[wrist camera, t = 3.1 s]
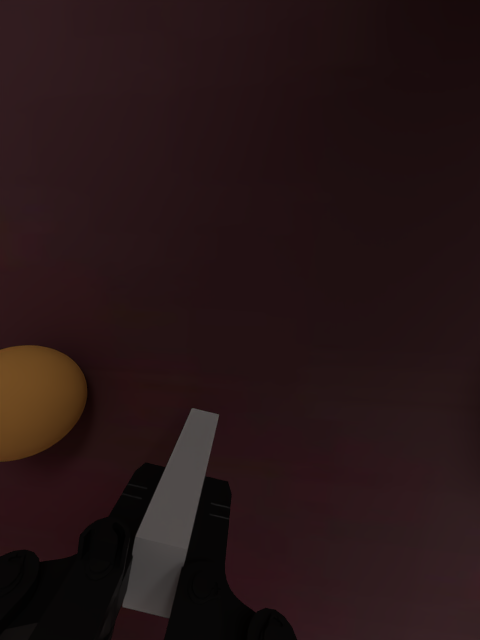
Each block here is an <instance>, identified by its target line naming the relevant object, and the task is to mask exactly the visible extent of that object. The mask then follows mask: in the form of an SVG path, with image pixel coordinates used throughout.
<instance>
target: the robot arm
mask: <svg viewBox="0 0 480 640" xmlns="http://www.w3.org/2000/svg"><path fill="white" fill-rule="evenodd" d="M218 418H219V414H215V413H211V412H206V411H202V410H198V409H194V408H192V409H191V411H190V414H189V416H188V418H187V421H186V423H185V425H184V427H183V430H182V432H181V434H180V436H179V439H178V441H177V443H176V445H175V448H174V450H173V452H172V455H171V457H170V459H169V461H168V464H167V466H166V467H162V466H158V465H154V464H150V463H145V464H143V465H142V466H141V467H140V468H138V469H137V470H136V471H135V472H134V474H133V476H132V478H131V479H130V481H129V483H128V485H127V486H126V488H125V489H124V491H123V493H122V495H121V496H120V498H119V500H118V501H117V503H116V505H115V507H114V508H113V510H112V512H111V513H110V515H109V517H106V518H103V519H100V520H97V521H95V522H94V523H92V524H91V525H89V526H88V527H87V528H86V529H85V530H84V531H83V533H82V534H81V535H80V538H79V546H78V553H77V554H75V555H73V556H71V557H67V558H63V559H57V560H50V561H43V562H39V558H38V557H37V556H36V554H35V553H34V552H31V551H28V550H18V551H12V552H10V553H8V554H5V555H3V556H1V557H0V640H111V637H112V633H113V629H114V625H115V620H116V618H117V615H118V612H119V610H120V607H121V605H122V602H123V606H122V607H125V608H129V609H133V610H137V611H141V612H145V613H149V614H153V615H157V616H161V617H165V618H169V622H168V626H167V630H166V634H165V638H164V640H297V639H296V636H295V634H294V631H293V628H292V627H291V625H290V624H289V622H288V621H287V620H286V618H285V617H284V616H283V615H282V614H280V613H279V612H277V611H276V610H274V609H268V608H265V609H262V610H260V611H257V613H255V612H254V611H253V610H251V609H250V608H249V607H247V606H246V605H245V604H243V603H242V602H241V601H240V600H239V599H238V598H237V597H236V596H235V595H234V594H233V592H232V591H231V589H230V587H229V585H228V583H227V580H226V575H225V557H226V547H227V536H228V526H229V515H230V505H231V495H232V494H231V490H230V487H229V484H228V482H227V481H223V480H219V479H215V478H211V477H206V476H205V473H206V469H207V465H208V460H209V456H210V452H211V448H212V443H213V439H214V435H215V430H216V426H217V422H218ZM123 600H124V601H123Z"/></svg>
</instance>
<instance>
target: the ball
mask: <svg viewBox="0 0 480 640" xmlns="http://www.w3.org/2000/svg"><path fill="white" fill-rule="evenodd" d="M86 400H87V383H86V379H85V376H84V374H83V372H82V370H81V369H80V367H79V366H78V365H77V364H76V363H75V362H74V361H73V360H72V359H71V358H70V357H68V356H67V355H65V354H64V353H61V352H59V351H57V350H55V349H51V348H47V347H42V346H33V345H24V346H14V347H9V348H5V349H1V350H0V462H4V461H12V460H18V459H22V458H26V457H29V456H32V455H35V454H37V453H39V452H42V451H44V450H46V449H47V448H49V447H51V446H52V445H54V444H55V443H57V442H58V441H60V440H61V439H62V438H63V437H64V436H65V435H66V434H67V433H68V432H69V431H70V430H71V429H72V428H73V427H74V426H75V424H76V423H77V422H78V420H79V418H80V416H81V415H82V413H83V410H84V408H85V404H86Z"/></svg>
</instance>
